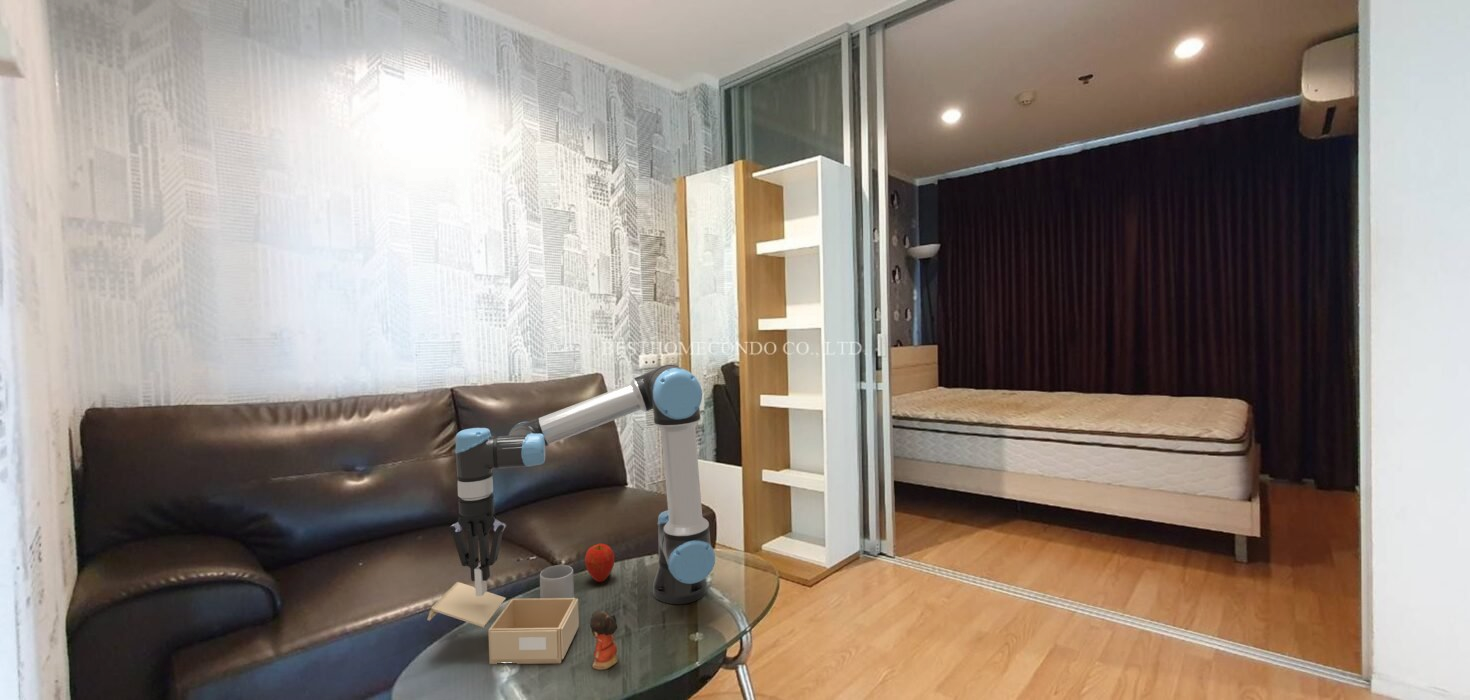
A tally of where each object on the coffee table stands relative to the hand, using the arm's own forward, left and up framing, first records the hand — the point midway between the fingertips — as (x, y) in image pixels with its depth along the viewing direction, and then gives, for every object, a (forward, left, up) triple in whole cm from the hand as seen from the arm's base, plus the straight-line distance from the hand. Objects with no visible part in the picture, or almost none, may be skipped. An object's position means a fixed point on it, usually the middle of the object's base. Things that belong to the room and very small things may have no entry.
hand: (481, 593), depth 137 cm
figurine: (-30, +7, -13) cm, 34 cm away
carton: (-12, 0, -13) cm, 18 cm away
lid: (+3, 0, -2) cm, 3 cm away
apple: (-20, -33, -13) cm, 41 cm away
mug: (-12, -17, -13) cm, 25 cm away
